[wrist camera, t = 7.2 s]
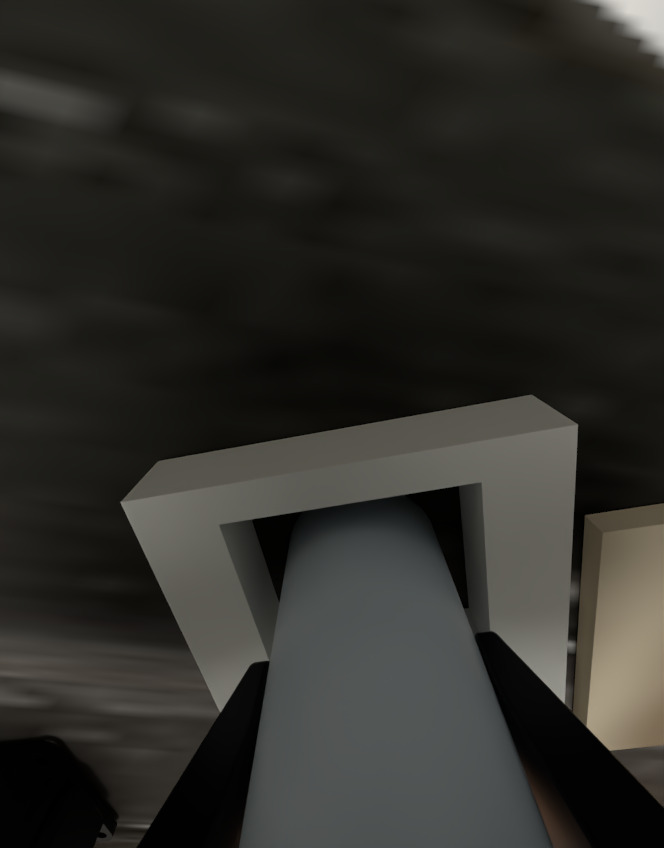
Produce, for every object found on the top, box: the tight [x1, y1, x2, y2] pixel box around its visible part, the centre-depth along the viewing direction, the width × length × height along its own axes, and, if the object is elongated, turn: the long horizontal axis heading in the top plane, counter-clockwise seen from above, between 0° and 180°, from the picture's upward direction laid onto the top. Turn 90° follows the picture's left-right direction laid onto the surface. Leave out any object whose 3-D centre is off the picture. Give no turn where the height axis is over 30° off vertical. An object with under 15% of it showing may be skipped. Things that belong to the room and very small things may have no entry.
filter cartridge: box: [239, 495, 554, 848], centre depth 7 cm, size 4×4×9 cm
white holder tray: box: [120, 395, 578, 713], centre depth 12 cm, size 10×16×2 cm, turn 11°
